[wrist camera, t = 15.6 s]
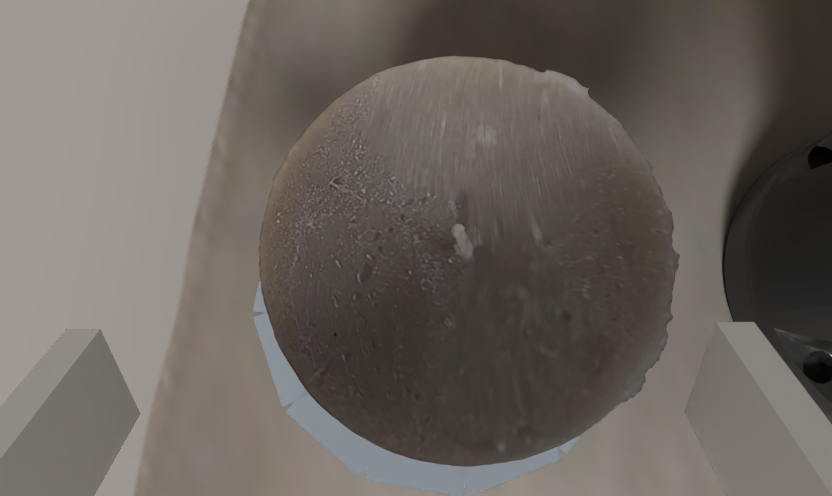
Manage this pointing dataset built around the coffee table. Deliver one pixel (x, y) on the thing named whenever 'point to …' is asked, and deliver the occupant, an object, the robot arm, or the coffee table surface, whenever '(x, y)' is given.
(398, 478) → the candle dish
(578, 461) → the coffee table surface
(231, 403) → the coffee table surface
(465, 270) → the pillar candle
